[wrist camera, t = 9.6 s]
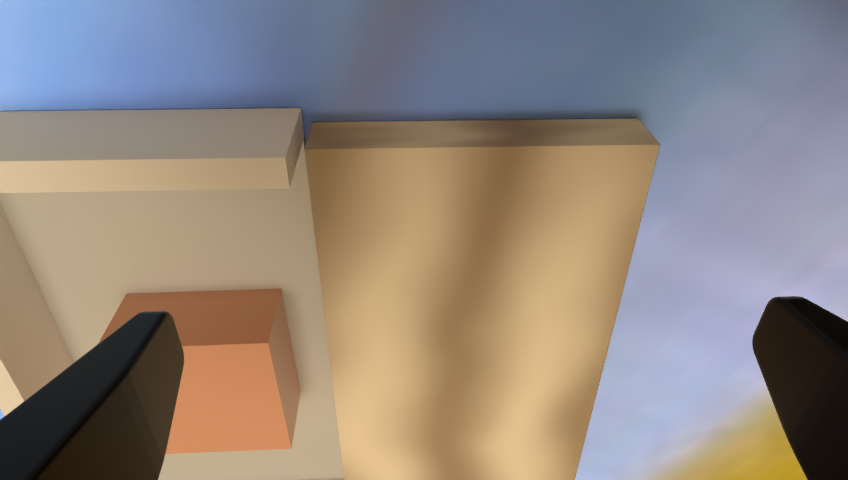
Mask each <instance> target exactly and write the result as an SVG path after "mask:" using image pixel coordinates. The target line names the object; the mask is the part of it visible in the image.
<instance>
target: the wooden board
mask: <svg viewBox="0 0 848 480" xmlns="http://www.w3.org/2000/svg"><path fill="white" fill-rule="evenodd" d="M659 147H660V144H659V143H658V141H657V140H656V139H655V138H654V137H653V135H652V134H651V133H650V132H649V130H648V129H647V128H646V127H645V126H644V124H643V123H642V122H641V121H640V120H639V118H635V119H549V120H462V121H376V122H312V123H311V127H310V131H309V134H308V138H307V142H306V146H305V149H304V150H305V158H306V166H307V175H308V183H309V191H310V200H311V208H312V216H313V225H314V233H315V241H316V250H317V258H318V266H319V275H320V283H321V291H322V300H323V308H324V316H325V325H326V333H327V341H328V350H329V358H330V366H331V375H332V383H333V391H334V400H335V408H336V416H337V425H338V433H339V442H340V450H341V458H342V467H343V475H344V480H575V476H576V472H577V468H578V465H579V461H580V457H581V453H582V449H583V445H584V441H585V437H586V433H587V429H588V425H589V421H590V418H591V414H592V410H593V406H594V402H595V398H596V394H597V390H598V386H599V382H600V378H601V374H602V370H603V367H604V363H605V359H606V355H607V351H608V347H609V343H610V339H611V335H612V331H613V327H614V323H615V320H616V316H617V312H618V308H619V304H620V300H621V296H622V292H623V288H624V284H625V280H626V276H627V273H628V269H629V265H630V261H631V257H632V253H633V249H634V245H635V241H636V237H637V233H638V229H639V225H640V222H641V218H642V214H643V210H644V206H645V202H646V198H647V194H648V190H649V186H650V182H651V178H652V175H653V171H654V167H655V163H656V159H657V155H658V151H659Z"/></svg>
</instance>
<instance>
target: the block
mask: <svg viewBox="0 0 848 480" xmlns="http://www.w3.org/2000/svg"><path fill="white" fill-rule="evenodd" d="M144 311H167V312H169V313H170V314H171V315H172V317H173V319H174V322H175V325H176V328H177V332H178V335H179V338H180V341H181V344H182V347H183V351H184V367H183V372H182V377H181V382H180V387H179V392H178V396H177V401H176V406H175V411H174V416H173V421H172V426H171V430H170V435H169V440H168V445H167V449H166V454H177V453H201V452H225V451H250V450H274V449H292V443H293V436H294V430H295V424H296V418H297V412H298V406H299V399H300V393H301V390H300V385H299V379H298V374H297V369H296V363H295V358H294V353H293V348H292V342H291V337H290V332H289V326H288V321H287V316H286V311H285V305H284V300H283V295H282V289H281V288H280V289H250V290H220V291H190V292H161V293H131V294H126V295H125V297H124V298H123V300H122V302H121V304H120V306H119V307H118V309H117V311H116V313H115V314H114V316H113V318H112V320H111V322H110V323H109V325H108V327H107V329H106V330H105V332H104V334H103V336H102V337H101V339H100V341H99V343H100V342H101V341H103V340H104V339H105V338H106V337H108V336H109V335H110V334H112V333H113V332H114V331H115V330H117V329H118V328H119V327H121V326H122V325H123V324H124V323H126V322H127V321H128V320H130V319H131V318H132V317H134V316H135V315H136V314H138V313H140V312H144ZM99 343H98V344H99Z"/></svg>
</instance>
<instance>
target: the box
mask: <svg viewBox="0 0 848 480" xmlns="http://www.w3.org/2000/svg"><path fill="white" fill-rule="evenodd" d="M304 149H305V138H304V129H303V121H302V112H301V108H263V109H169V110H76V111H0V409H1V411H2V412H3V414H4V415H5V416H6V415H7V414H8V413H10V412H11V411H12V410H13V409H15V408H16V407H17V406H19V405H20V404H21V403H23V402H24V401H25V400H26V399H28V398H29V397H30V396H32V395H33V394H34V393H35V392H37V391H38V390H39V389H41V388H42V387H43V386H44V385H46V384H47V383H48V382H50V381H51V380H52V379H53V378H55V377H56V376H57V375H59V374H60V373H61V372H63V371H64V370H65V369H66V368H68V367H69V366H70V365H72V364H73V363H74V362H75V361H77V360H78V359H79V358H81V357H82V356H83V355H84V354H86V353H87V352H88V351H90V350H91V349H92V348H94V347H95V346H96V345H97V344H98V343H99V341H100V339H101V337H102V336H103V334H104V332H105V330H106V329H107V327H108V325H109V323H110V322H111V320H112V318H113V316H114V314H115V313H116V311H117V309H118V307H119V306H120V304H121V302H122V300H123V298H124V297H125V295H126V294H131V293H161V292H190V291H220V290H250V289H280V288H281V289H282V295H283V300H284V305H285V311H286V316H287V321H288V326H289V332H290V337H291V342H292V348H293V353H294V358H295V363H296V369H297V374H298V379H299V385H300V390H301V393H300V399H299V406H298V412H297V418H296V424H295V430H294V436H293V443H292V449H274V450H250V451H225V452H201V453H177V454H165V458H164V462H163V465H162V469H161V472H160V475H159V478H158V480H344V475H343V467H342V458H341V450H340V442H339V433H338V425H337V416H336V408H335V400H334V391H333V383H332V375H331V366H330V358H329V350H328V341H327V333H326V325H325V316H324V308H323V300H322V291H321V283H320V275H319V266H318V258H317V250H316V241H315V233H314V225H313V216H312V208H311V200H310V191H309V183H308V175H307V166H306V158H305V150H304Z"/></svg>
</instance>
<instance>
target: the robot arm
mask: <svg viewBox="0 0 848 480" xmlns="http://www.w3.org/2000/svg"><path fill="white" fill-rule="evenodd" d="M753 350H754V354H755V356H756V359H757V362H758V364H759V367H760V369H761V372H762V375H763V377H764V380H765V382H766V385H767V388H768V390H769V393H770V396H771V398H772V401H773V403H774V406H775V409H776V411H777V414H778V417H779V419H780V422H781V424H782V427H783V429H784V432H785V434H786V436H787V439H788V441H789V443H790V445H791V447H792V450H793V452H794V454H795V456H796V458H797V460H798V462H799V464H800V466H801V468H802V470H803V472H804V474H805V476H806V478H807V479H808V480H848V322H847V321H845V320H843V319H842V318H840V317H838V316H836V315H834V314H833V313H831V312H829V311H827V310H825V309H823V308H822V307H820V306H818V305H816V304H814V303H812V302H811V301H809V300H807V299H805V298H803V297H797V296H791V297H775V298H772V299H771V300H770V301H769V302H768V304H767V306H766V308H765V310H764V312H763V315H762V317H761V319H760V321H759V324H758V326H757V328H756V330H755V333H754V335H753ZM183 367H184V351H183V347H182V344H181V341H180V338H179V335H178V332H177V328H176V325H175V322H174V319H173V317H172V315H171V314H170V313H169V312H167V311H144V312H140V313H138V314H136V315H135V316H134V317H132V318H131V319H130V320H128V321H127V322H126V323H124V324H123V325H122V326H121V327H119V328H118V329H117V330H115V331H114V332H113V333H112V334H110V335H109V336H108V337H106V338H105V339H104V340H103V341H101V342H100V343H99V344H97V345H96V346H95V347H94V348H92V349H91V350H90V351H88V352H87V353H86V354H84V355H83V356H82V357H81V358H79V359H78V360H77V361H75V362H74V363H73V364H72V365H70V366H69V367H68V368H66V369H65V370H64V371H63V372H61V373H60V374H59V375H57V376H56V377H55V378H53V379H52V380H51V381H50V382H48V383H47V384H46V385H44V386H43V387H42V388H41V389H39V390H38V391H37V392H35V393H34V394H33V395H32V396H30V397H29V398H28V399H26V400H25V401H24V402H23V403H21V404H20V405H19V406H17V407H16V408H15V409H13V410H12V411H11V412H10V413H8V414H7V415H6V416H4V417H3V418H2V419H1V420H0V480H158V478H159V475H160V472H161V469H162V465H163V462H164V458H165V454H166V449H167V445H168V440H169V435H170V430H171V426H172V421H173V416H174V411H175V406H176V401H177V396H178V392H179V387H180V382H181V377H182V372H183Z"/></svg>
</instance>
